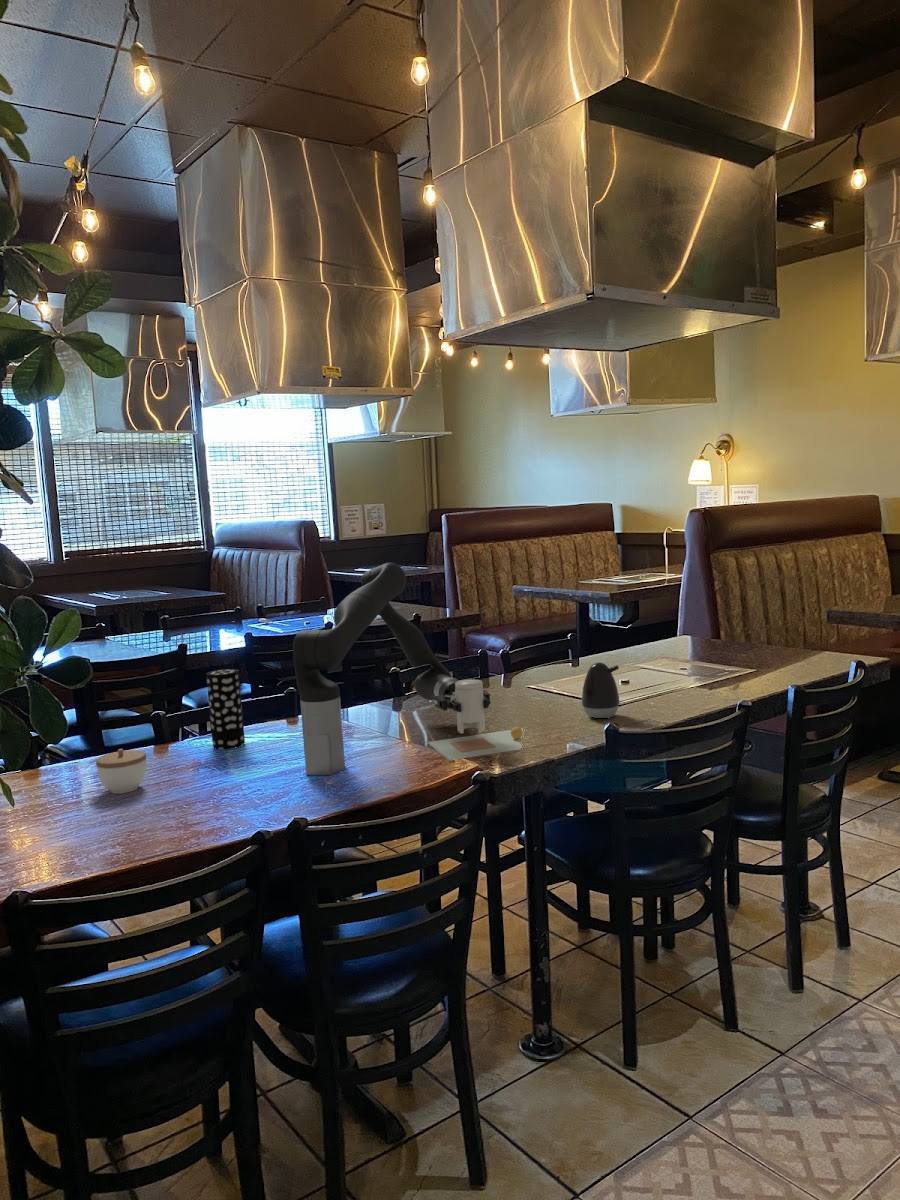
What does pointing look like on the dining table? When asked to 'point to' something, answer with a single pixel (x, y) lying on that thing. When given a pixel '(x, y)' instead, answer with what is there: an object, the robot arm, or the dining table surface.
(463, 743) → the mat
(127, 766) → the lidded jar
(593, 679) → the pump dispenser
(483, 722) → the white cover with opening
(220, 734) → the white-spotted black cylinder
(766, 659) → the dining table surface
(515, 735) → the ball
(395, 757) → the dining table surface
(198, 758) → the dining table surface
